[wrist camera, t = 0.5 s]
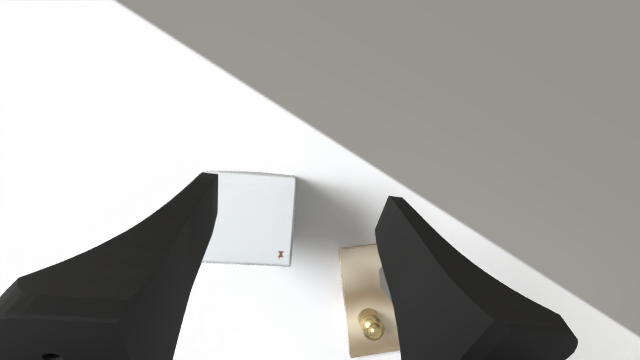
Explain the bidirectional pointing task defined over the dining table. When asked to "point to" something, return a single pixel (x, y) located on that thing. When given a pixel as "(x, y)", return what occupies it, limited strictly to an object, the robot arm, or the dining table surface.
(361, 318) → the stud
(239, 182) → the supplement box
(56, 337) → the robot arm
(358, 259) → the board
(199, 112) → the dining table surface
